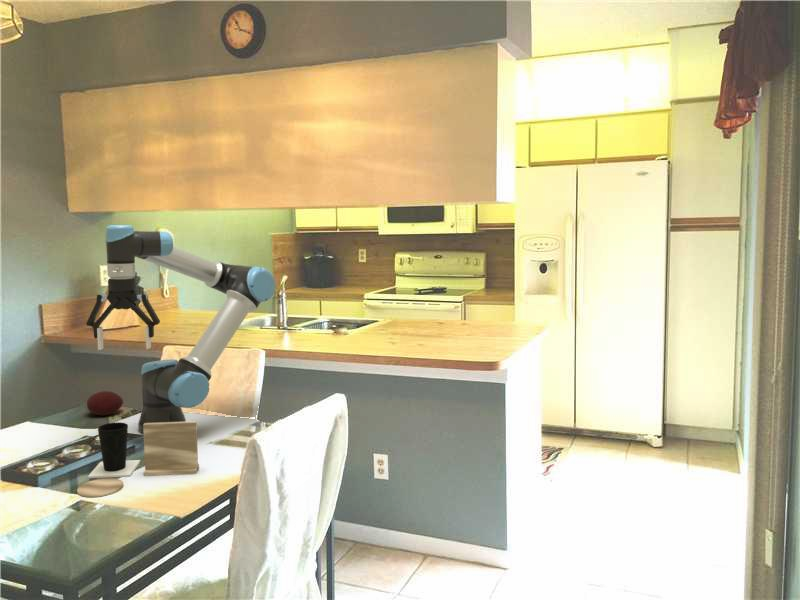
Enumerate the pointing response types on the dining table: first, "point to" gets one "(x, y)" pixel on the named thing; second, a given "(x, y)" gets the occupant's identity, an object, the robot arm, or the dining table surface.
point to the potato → (104, 403)
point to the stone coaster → (125, 472)
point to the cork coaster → (100, 487)
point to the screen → (170, 448)
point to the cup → (113, 445)
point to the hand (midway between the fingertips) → (124, 348)
